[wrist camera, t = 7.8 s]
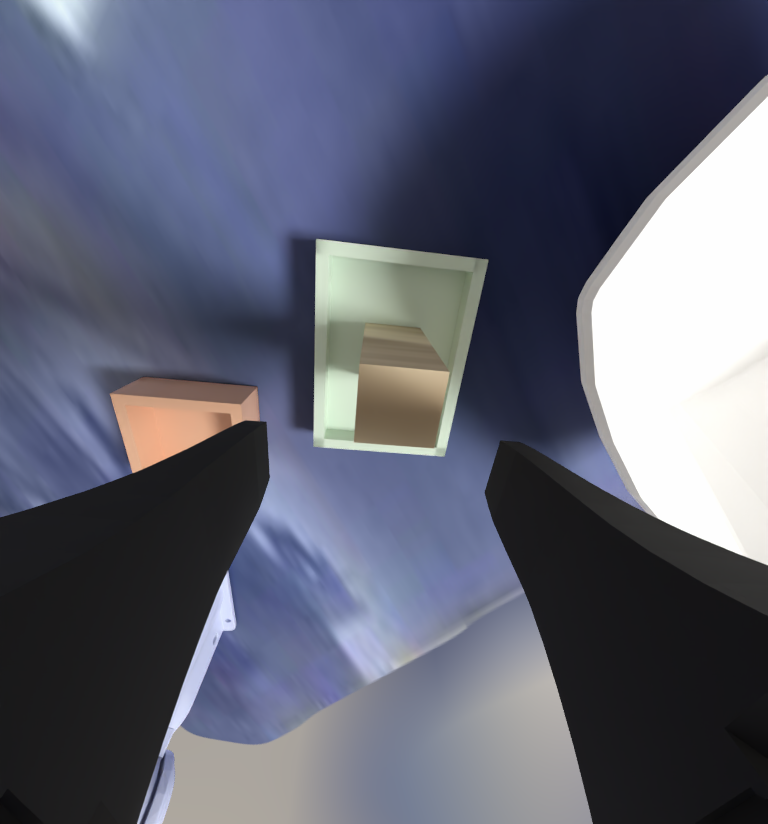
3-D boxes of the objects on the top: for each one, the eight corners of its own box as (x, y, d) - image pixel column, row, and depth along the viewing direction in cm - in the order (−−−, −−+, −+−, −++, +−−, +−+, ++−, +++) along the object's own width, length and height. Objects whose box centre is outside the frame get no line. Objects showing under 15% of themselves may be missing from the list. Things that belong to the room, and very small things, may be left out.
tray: (439, 441, 21) (444, 456, 19) (318, 431, 21) (313, 446, 19) (477, 259, 16) (488, 259, 15) (321, 241, 16) (316, 238, 14)
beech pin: (412, 379, 19) (434, 448, 12) (361, 375, 18) (353, 442, 12) (420, 327, 17) (449, 371, 10) (365, 322, 17) (359, 363, 10)
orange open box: (263, 475, 22) (250, 501, 20) (164, 468, 21) (138, 494, 19) (257, 386, 19) (240, 404, 17) (143, 376, 19) (109, 393, 16)
